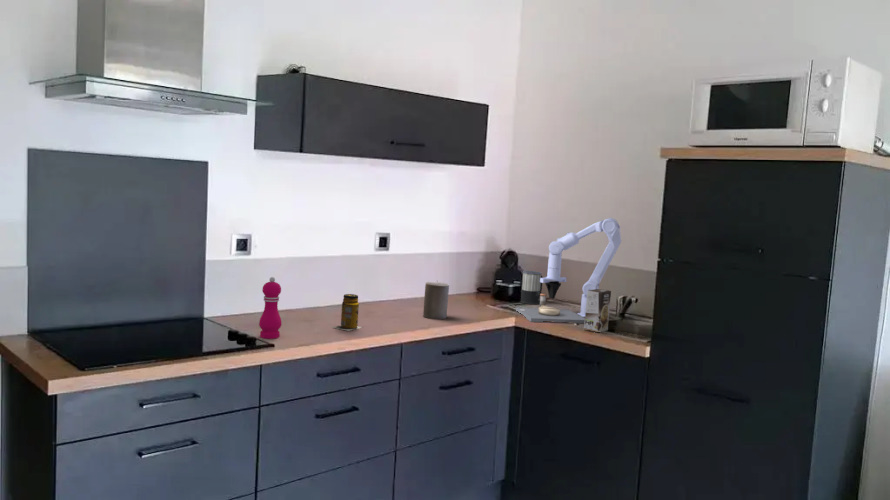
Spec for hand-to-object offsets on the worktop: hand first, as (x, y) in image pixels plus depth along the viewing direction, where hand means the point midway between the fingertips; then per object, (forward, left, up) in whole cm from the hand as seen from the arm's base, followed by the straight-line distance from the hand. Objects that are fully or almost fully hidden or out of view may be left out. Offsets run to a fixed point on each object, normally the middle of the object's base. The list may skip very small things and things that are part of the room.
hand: (551, 298), depth 322 cm
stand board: (+4, +12, -6) cm, 14 cm away
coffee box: (-7, +37, -6) cm, 39 cm away
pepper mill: (+117, +64, -6) cm, 134 cm away
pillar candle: (+55, +20, -6) cm, 59 cm away
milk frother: (+5, -26, -6) cm, 27 cm away
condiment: (+91, +46, -6) cm, 102 cm away
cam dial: (+5, +10, -4) cm, 12 cm away
